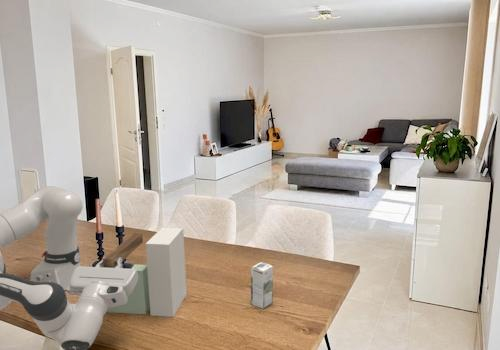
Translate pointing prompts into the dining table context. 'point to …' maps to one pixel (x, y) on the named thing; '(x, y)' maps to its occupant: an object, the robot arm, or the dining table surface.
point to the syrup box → (262, 285)
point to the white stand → (166, 271)
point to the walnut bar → (123, 250)
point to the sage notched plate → (136, 295)
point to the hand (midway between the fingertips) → (113, 258)
